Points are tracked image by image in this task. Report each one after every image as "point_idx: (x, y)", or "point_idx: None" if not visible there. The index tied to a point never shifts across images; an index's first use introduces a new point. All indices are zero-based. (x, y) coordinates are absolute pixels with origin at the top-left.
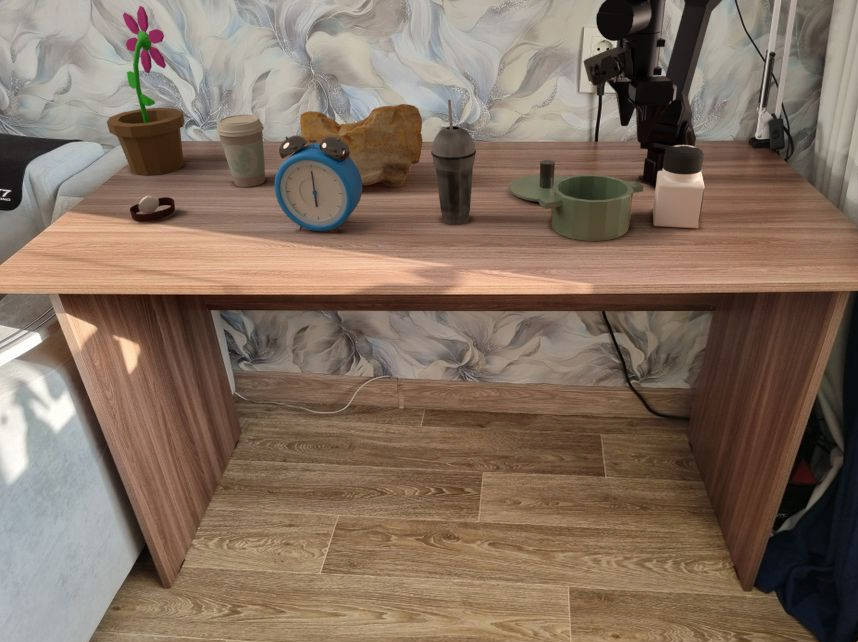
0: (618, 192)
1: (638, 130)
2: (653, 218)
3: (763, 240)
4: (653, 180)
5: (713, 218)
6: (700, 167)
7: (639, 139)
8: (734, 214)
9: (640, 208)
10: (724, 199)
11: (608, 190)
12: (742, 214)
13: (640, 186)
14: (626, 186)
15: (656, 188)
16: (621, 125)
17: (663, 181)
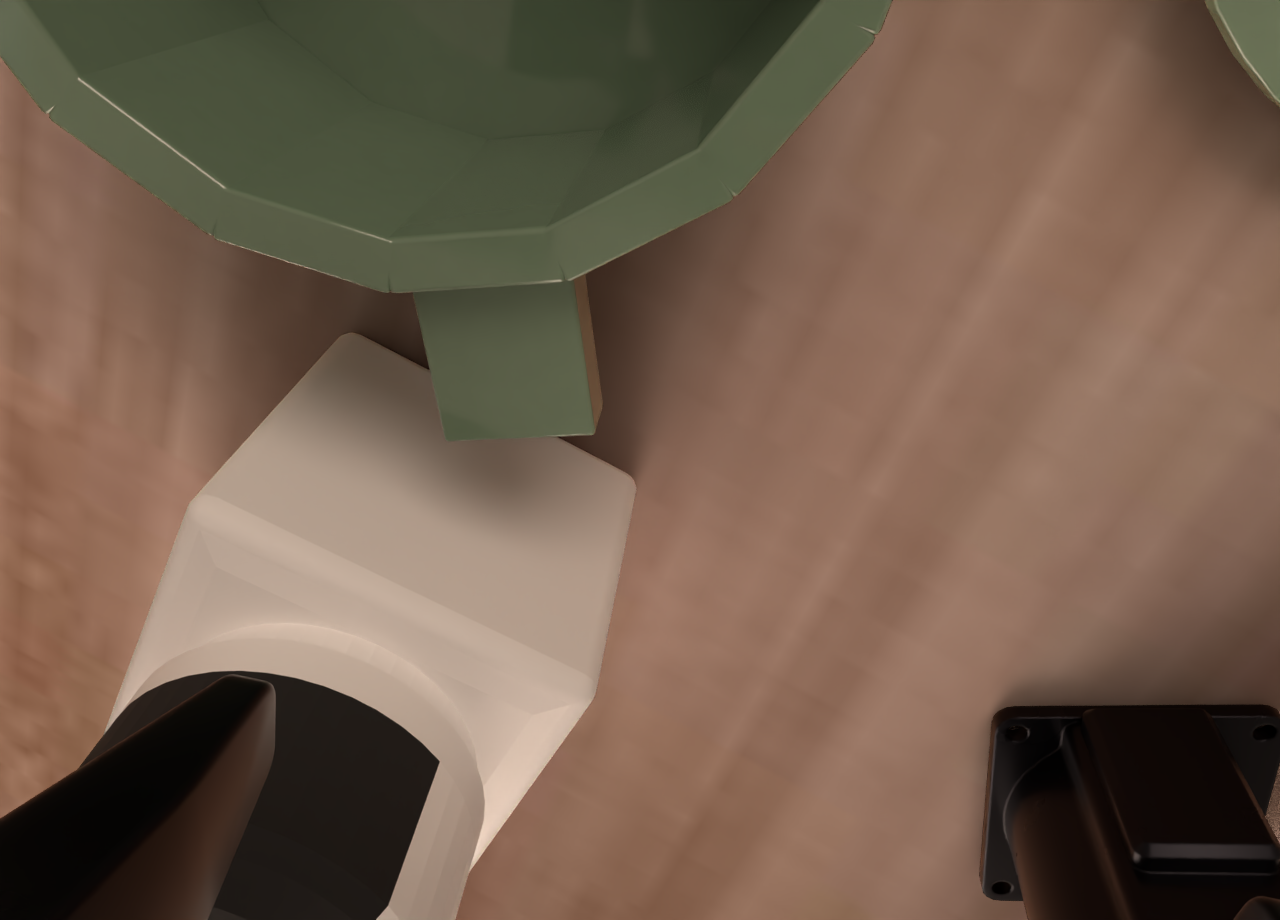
0: (538, 189)
1: (27, 808)
2: (427, 377)
3: (55, 747)
4: (1083, 739)
5: None
6: None
7: (192, 710)
8: None
9: (721, 419)
10: (658, 902)
11: (671, 130)
12: None
13: (438, 406)
14: (331, 219)
15: (461, 540)
16: (1272, 900)
17: (238, 575)
